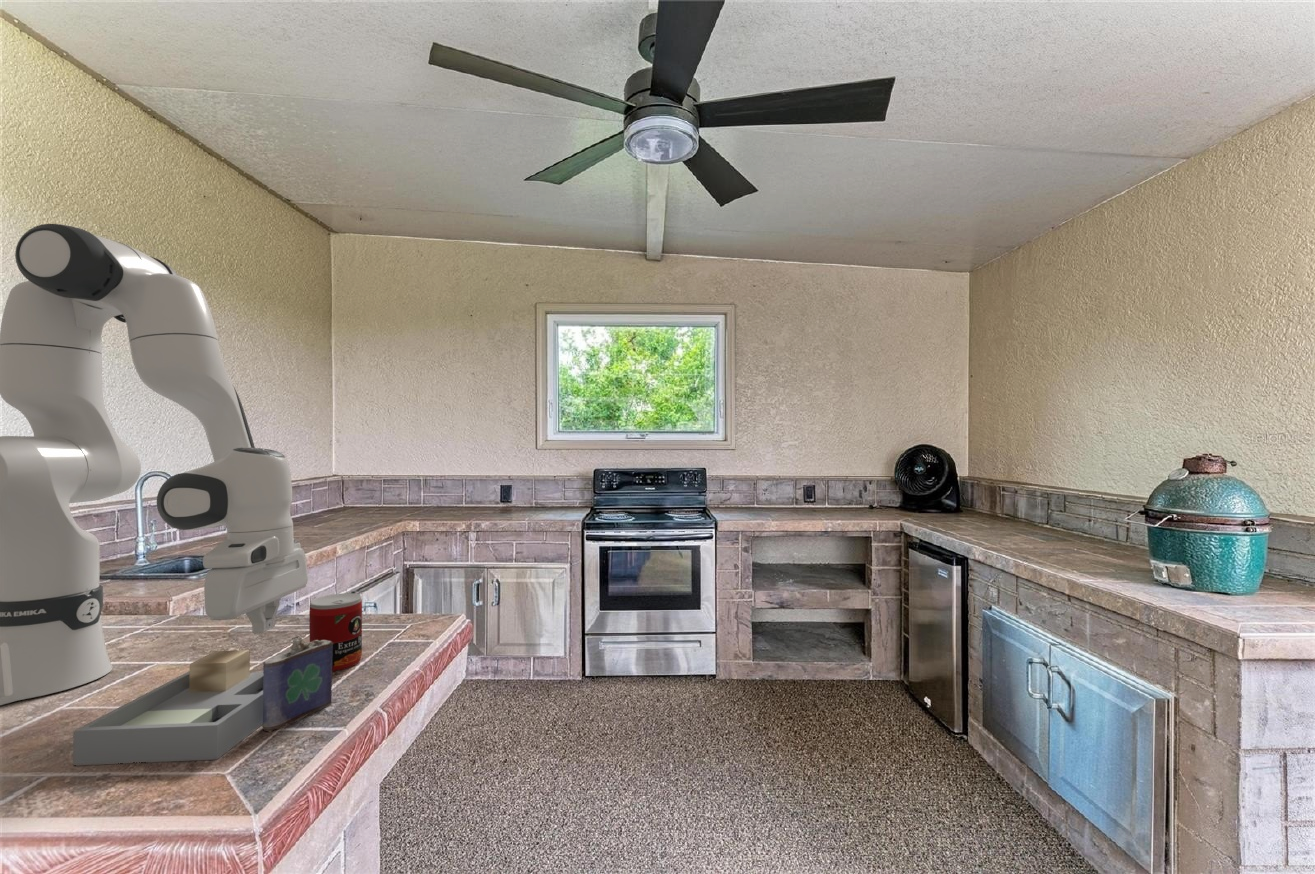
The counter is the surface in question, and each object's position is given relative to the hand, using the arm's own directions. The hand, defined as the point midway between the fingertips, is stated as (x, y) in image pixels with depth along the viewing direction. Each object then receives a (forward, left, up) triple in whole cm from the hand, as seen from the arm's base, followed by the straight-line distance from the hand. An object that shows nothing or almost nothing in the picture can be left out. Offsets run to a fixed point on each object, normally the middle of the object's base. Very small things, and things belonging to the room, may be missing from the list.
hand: (263, 631), depth 90 cm
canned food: (+10, +3, -7) cm, 13 cm away
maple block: (-1, -9, -5) cm, 10 cm away
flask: (+14, -15, -7) cm, 22 cm away
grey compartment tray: (+3, -15, -7) cm, 17 cm away
